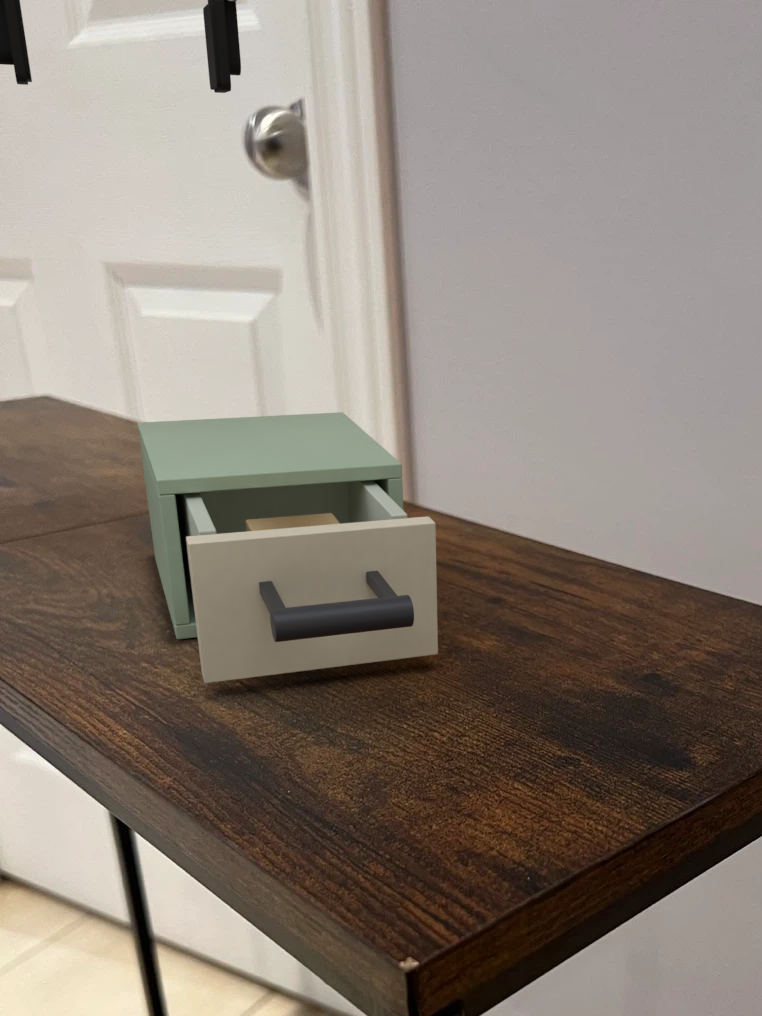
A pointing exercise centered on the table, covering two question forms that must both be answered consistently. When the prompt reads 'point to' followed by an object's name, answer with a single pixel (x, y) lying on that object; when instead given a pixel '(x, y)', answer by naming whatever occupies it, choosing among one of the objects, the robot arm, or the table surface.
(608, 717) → the table surface
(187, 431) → the cabinet
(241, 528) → the drawer
